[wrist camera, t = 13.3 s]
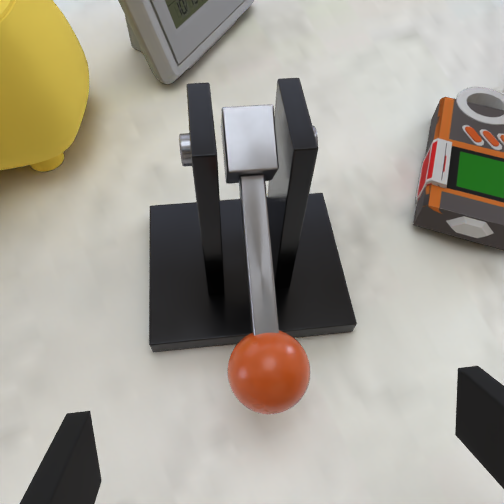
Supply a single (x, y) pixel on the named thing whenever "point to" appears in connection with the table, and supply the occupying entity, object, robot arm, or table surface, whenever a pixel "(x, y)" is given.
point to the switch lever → (260, 269)
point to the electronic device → (465, 169)
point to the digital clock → (178, 30)
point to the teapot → (39, 84)
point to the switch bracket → (232, 241)
